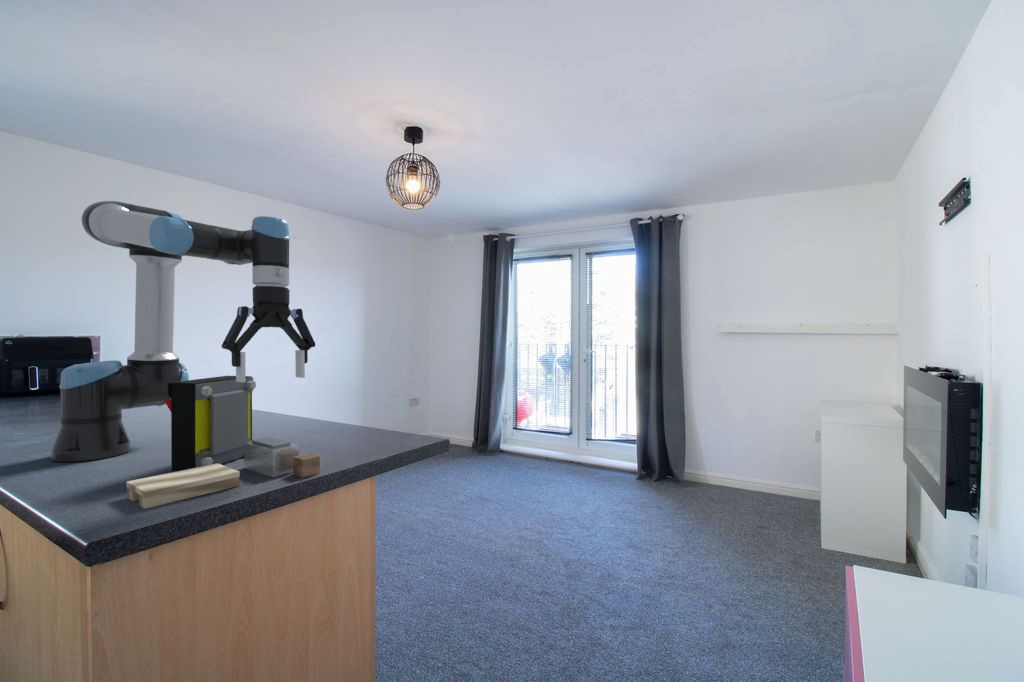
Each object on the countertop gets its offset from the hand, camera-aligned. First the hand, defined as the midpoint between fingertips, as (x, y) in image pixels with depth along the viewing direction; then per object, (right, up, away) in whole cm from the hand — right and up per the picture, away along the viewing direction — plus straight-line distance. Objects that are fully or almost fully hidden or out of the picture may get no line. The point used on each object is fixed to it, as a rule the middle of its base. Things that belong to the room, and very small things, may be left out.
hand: (271, 379), depth 110 cm
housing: (0, -21, 0) cm, 21 cm away
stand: (-9, -21, -15) cm, 27 cm away
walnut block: (+9, -21, -3) cm, 23 cm away
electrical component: (-17, -21, +7) cm, 28 cm away
